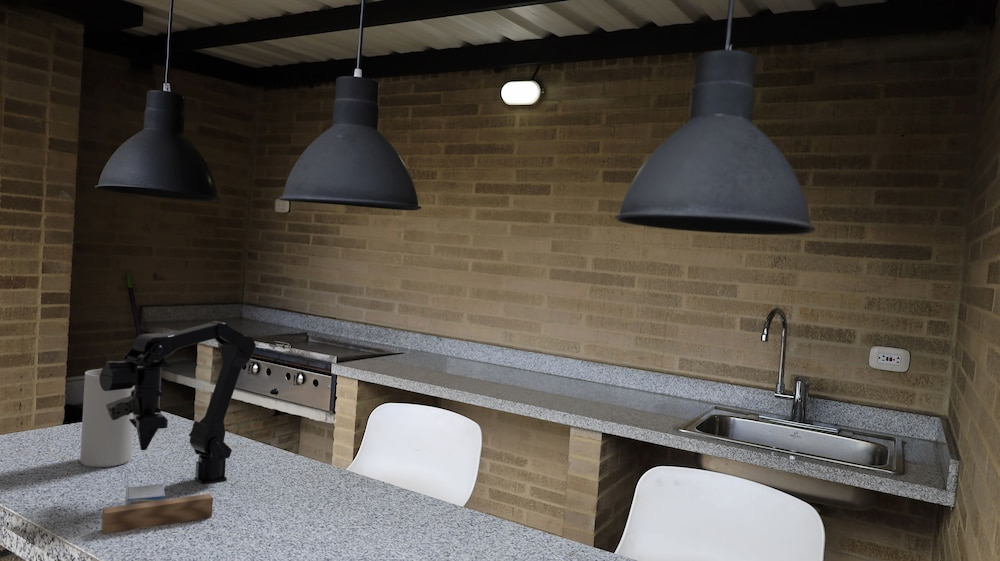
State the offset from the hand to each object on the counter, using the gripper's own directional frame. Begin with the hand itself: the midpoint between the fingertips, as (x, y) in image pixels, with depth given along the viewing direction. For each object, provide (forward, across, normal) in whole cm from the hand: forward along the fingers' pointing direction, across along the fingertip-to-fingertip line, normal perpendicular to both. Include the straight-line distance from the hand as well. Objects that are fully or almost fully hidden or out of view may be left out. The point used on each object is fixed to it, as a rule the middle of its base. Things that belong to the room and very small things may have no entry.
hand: (143, 449), depth 171 cm
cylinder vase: (+12, -32, -3) cm, 34 cm away
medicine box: (+9, +5, 0) cm, 10 cm away
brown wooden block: (+12, +19, 0) cm, 22 cm away
